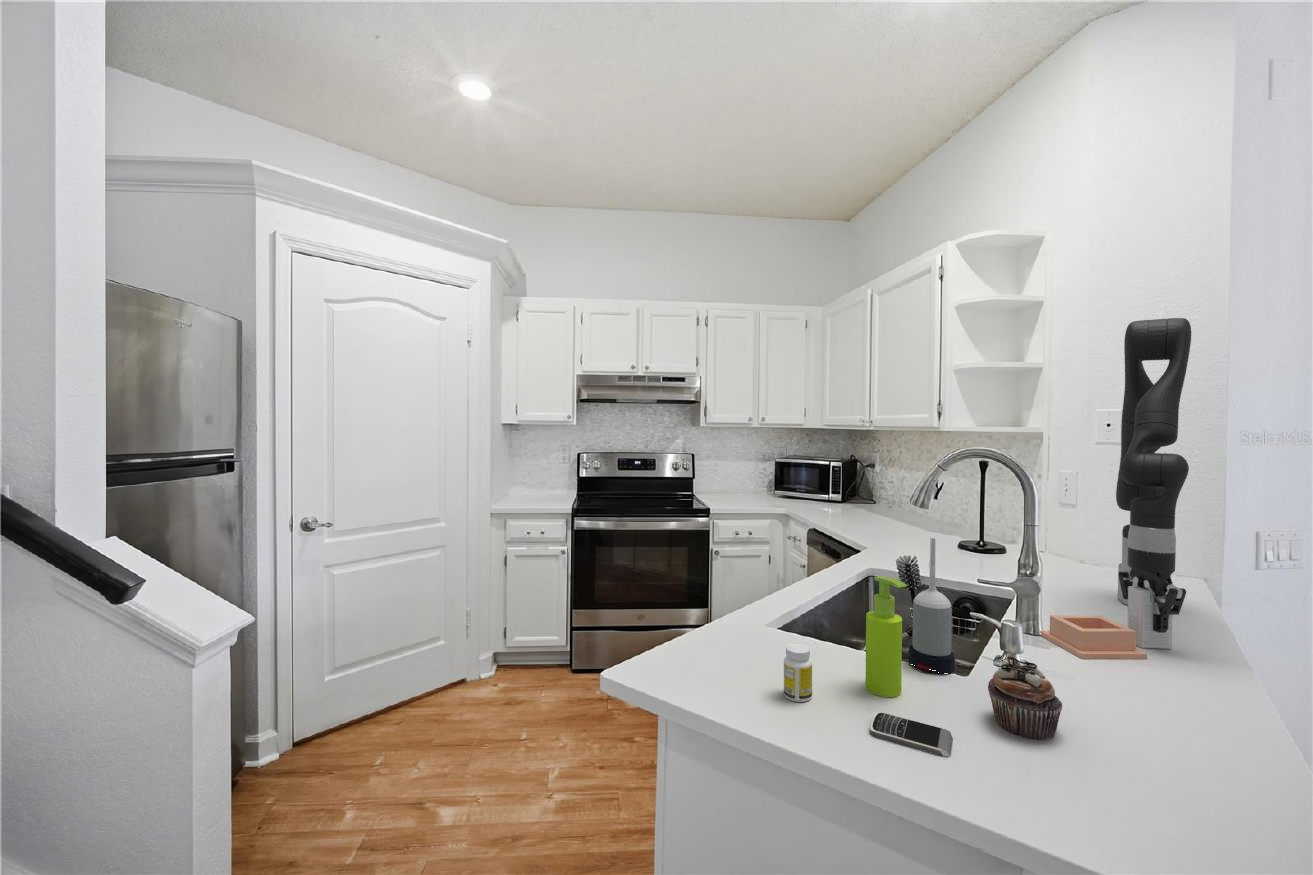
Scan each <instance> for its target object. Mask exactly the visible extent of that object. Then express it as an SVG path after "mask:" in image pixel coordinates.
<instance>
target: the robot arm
mask: <svg viewBox="0 0 1313 875" xmlns="http://www.w3.org/2000/svg"><path fill="white" fill-rule="evenodd" d="M1123 343H1124V344H1123V345H1124V347H1123V349H1124V352H1123V354H1124V393H1123V402H1122V413H1121V426H1120V428H1121V430H1120V431H1121V432H1120V442H1121V444H1120V459H1119V461H1120V462H1119V468H1118V474H1117V480H1116V481H1117V482H1116V487H1115V499H1116V504H1117V506H1118V508H1119V509H1121V510H1123V511H1127V512H1130V513H1129V518H1130V519H1129V524H1126V525H1124V526H1123V527H1122V532H1121V533H1122V534H1121V535H1122V538H1121V541H1122V543H1121V563H1119V564H1118V569H1117V570H1118V572H1117V600H1119V601H1120V602H1121V603H1122V604H1124V605H1126V606H1128V586H1135V587H1141V588H1143V589H1146V590H1147V591H1149V592H1150V602H1151V603H1152V604H1153V609H1154V613H1155V614H1154V619H1153V630H1154V631H1156V632H1158V633H1165V632H1166V631H1167V630H1168V617H1169V615H1174V616H1175V615H1176V616H1177V615H1179V614H1180V613H1181V610H1182V606H1183V603H1184V600H1185V598H1186V596H1187V590H1186V589H1185V588H1182V587H1180V588H1179V587H1177V586H1176V585H1174V584H1173V583H1174V582H1173V581H1172V577H1171V576H1172V574H1173V573H1174V572H1175V571H1176V553H1177V551H1176V550H1177V549H1176V548H1177V536H1176V531H1175V530H1176V529H1175V527H1176V526H1175V525H1176V508H1177V504H1178V503H1177V502H1178V499H1179V496H1180V493H1181V491H1182V488H1183V486H1184V483H1185V482H1186V479H1187V477H1188V475H1189V470H1190V469H1189V468H1190V467H1189V463H1188V461H1187V459H1186V458H1185V457H1183V456H1182V455H1180V454H1178V453H1166V452H1164V453H1162V452H1161V453H1160V452H1157V451H1159V449H1161V448H1162V447H1163V448H1164V447H1168V446H1171V445H1173V444H1175V443H1176V442H1177V441H1178V436H1179V413H1180V412H1179V411H1180V401H1181V397H1182V396H1181V395H1182V393H1183V392H1182V391H1183V388H1184V383H1185V379H1186V373H1187V369H1188V363H1189V359H1190V358H1189V356H1190V350H1191V345H1192V325H1191V322H1190V321H1189V320H1188V319H1187V318H1185V317H1173V318H1171V317H1170V318H1158V319H1157V318H1156V319H1141V320H1134V321H1132V322H1130V323H1128V325H1127V327H1126V329H1125V334H1124V342H1123ZM1144 361H1168V364H1167V367H1166V369H1165V371H1164V372H1163V374H1162V375H1161V376H1160V377H1159V378H1158V380H1157V381H1156V382H1155V383H1153V382H1152V380H1151V379H1150V377H1149V376H1148V374H1147V372H1146V369H1145V367H1144V364H1143V362H1144ZM1164 595H1165V598H1164V599H1157V598H1156V597H1160V596H1164ZM1160 603H1163V609H1161V608H1160ZM1172 606H1173V608H1172Z"/></svg>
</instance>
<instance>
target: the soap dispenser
mask: <svg viewBox="0 0 1313 875" xmlns="http://www.w3.org/2000/svg"><path fill="white" fill-rule="evenodd" d="M874 581H876V582H879V583H878V584H879V585H878V586H879V587H878V588H879V590H878V593H876V594H874V596H873V610H870V611H868V612H866V614H865V615H866V616H865V619H866V620H865V684H864V685H865V689H866V690H867V691H868V692H869V693H871V694H873V695H875V696H879V697H881V698H882V697H883V698H896V697H899V696H900V695H901V694H902V675H903V674H902V671H903V670H902V667H903V666H902V664H903V662H902V661H903V660H902V659H903V657H902V656H903V649H902V648H903V617H902V616H901V615H899V614H897V613H895V607H896V606H895V603H896V602H895V600H896V598H895V596H893V595H892V594H891V593H890V592H891V591H890V589H891V588H890V586H893V587H895V588H897V589H898V590H899V589H904V588H906V587H908V584H906V583H905V582H903V581H901V580H899V579H897V578H894V577H891V576H884V575H879V576H874Z"/></svg>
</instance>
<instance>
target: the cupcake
mask: <svg viewBox="0 0 1313 875" xmlns="http://www.w3.org/2000/svg"><path fill="white" fill-rule="evenodd" d="M1020 664H1023V665H1020ZM987 691H988V695H989V697H990V701H991V705H992V709H993V716H994V719H995V722H996V724H997V725H998V726H999V727H1000V728H1001V729H1003V730H1004V731H1006V732H1008V733H1010V734H1012V735H1015V736H1019V737H1021V738H1025V739H1029V740H1033V741H1034V740H1037V741H1044V740H1046V741H1047V740H1049V739H1052V738H1054V737H1055V735H1056V731H1057V728H1058V724H1059V721H1060V720H1059V719H1060V716H1061V712H1062V709H1063V702H1062V700H1060V699H1059V697H1057V696H1056V692H1055V689H1054V686H1053V684H1052V683H1051V681H1049V680H1048V679H1047V678H1046V677H1045V675H1044V672H1042V671H1041V670H1040V669H1039V668H1038V665H1037V664H1035V663H1034V662H1028V661H1021V660H1018V659H1017V658H1015V657H1014V656H1008V657H1006V659H1004V660H1002V663H1001V665H1000V666H999V667H998V669H997V670H996V671H995V672H994V674H993V675H992V678H991V679H990V680H989V681H988V683H987Z"/></svg>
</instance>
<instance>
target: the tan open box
mask: <svg viewBox="0 0 1313 875" xmlns="http://www.w3.org/2000/svg"><path fill="white" fill-rule="evenodd" d="M1039 633H1041V637H1042V636H1043V637H1042V638H1044V639H1046V640H1048V641H1050V642H1051V643H1053V644H1055V645H1056V646H1058V647H1060V648H1061V649H1063V650H1065V651H1067V652H1068V653H1071V654H1072V655H1074V656H1075V657H1078V658H1079V659H1081V660H1148V654H1147V653H1146V652H1144V651H1141V650H1140V649H1138V648H1137V645H1136V631H1134V630H1132V629H1130V628H1128V626H1125V625H1123V624H1121V623H1118V622H1116V621H1113V620H1111V619H1109V618H1107V617H1105V616H1103V615H1049V630H1040V631H1039Z"/></svg>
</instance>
